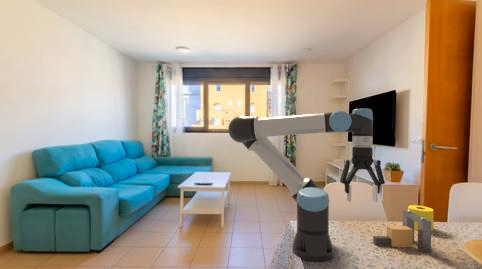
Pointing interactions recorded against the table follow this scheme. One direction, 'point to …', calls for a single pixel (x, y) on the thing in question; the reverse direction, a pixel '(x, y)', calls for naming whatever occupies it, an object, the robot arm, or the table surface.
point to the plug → (396, 237)
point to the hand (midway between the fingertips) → (362, 200)
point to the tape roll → (422, 214)
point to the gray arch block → (419, 229)
